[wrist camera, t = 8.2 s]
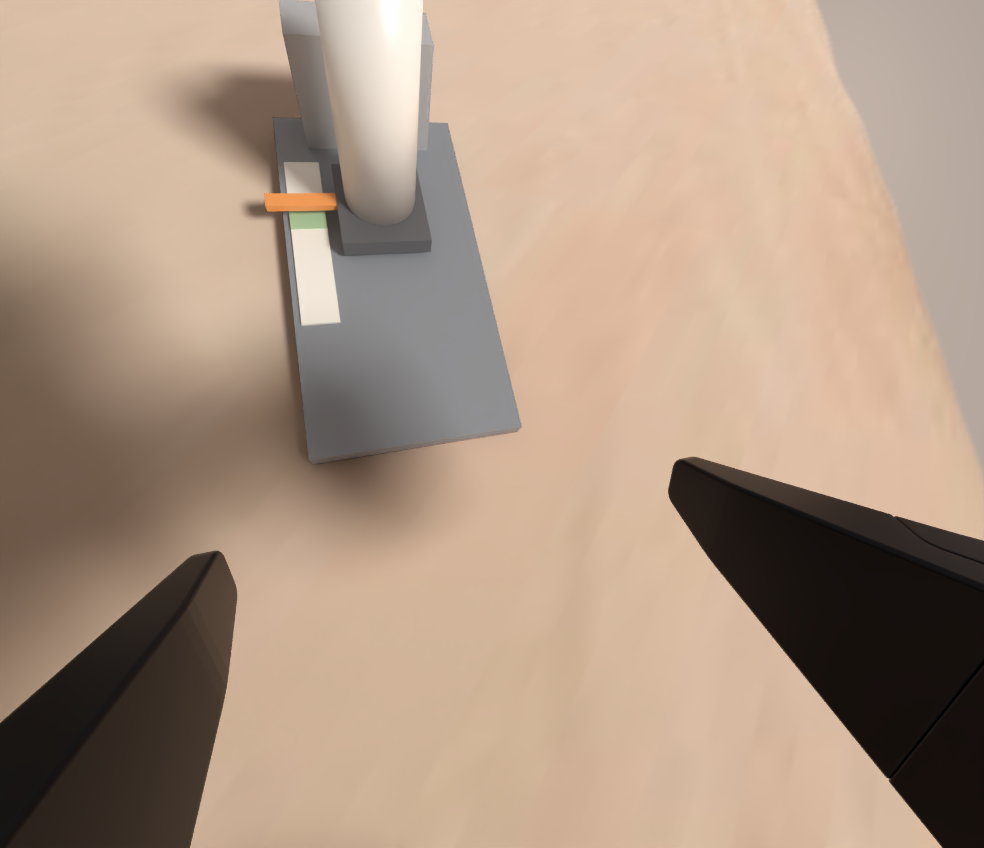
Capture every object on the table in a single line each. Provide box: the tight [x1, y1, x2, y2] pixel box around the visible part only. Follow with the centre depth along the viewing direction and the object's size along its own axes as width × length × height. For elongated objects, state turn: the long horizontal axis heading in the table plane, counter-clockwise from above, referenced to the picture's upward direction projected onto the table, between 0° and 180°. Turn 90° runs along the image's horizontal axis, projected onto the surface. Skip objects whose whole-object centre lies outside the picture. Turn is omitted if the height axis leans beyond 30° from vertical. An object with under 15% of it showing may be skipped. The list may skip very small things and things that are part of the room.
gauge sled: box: [264, 0, 432, 256], centre depth 16 cm, size 4×7×10 cm, turn 103°
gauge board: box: [273, 0, 522, 464], centre depth 18 cm, size 18×9×6 cm, turn 12°
